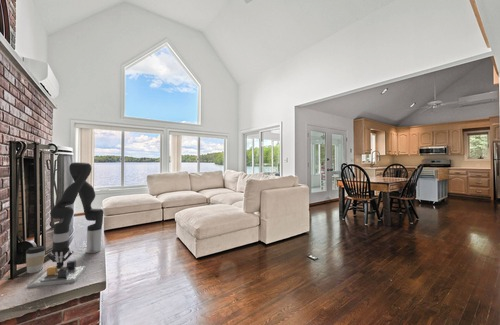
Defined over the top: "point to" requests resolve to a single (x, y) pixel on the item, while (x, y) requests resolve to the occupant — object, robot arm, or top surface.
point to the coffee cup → (35, 258)
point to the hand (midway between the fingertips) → (59, 267)
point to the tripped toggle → (52, 270)
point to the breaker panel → (66, 280)
